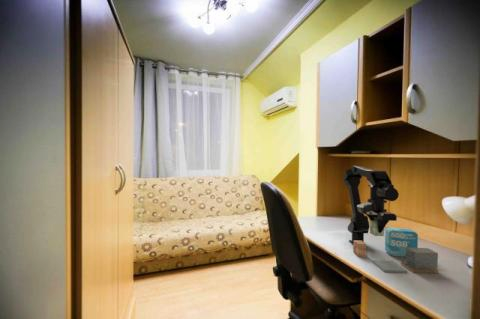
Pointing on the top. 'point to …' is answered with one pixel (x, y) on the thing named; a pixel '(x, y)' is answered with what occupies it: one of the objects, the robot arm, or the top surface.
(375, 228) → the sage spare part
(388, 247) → the data package
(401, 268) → the pad
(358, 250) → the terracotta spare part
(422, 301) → the top surface
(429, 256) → the mounted unit
